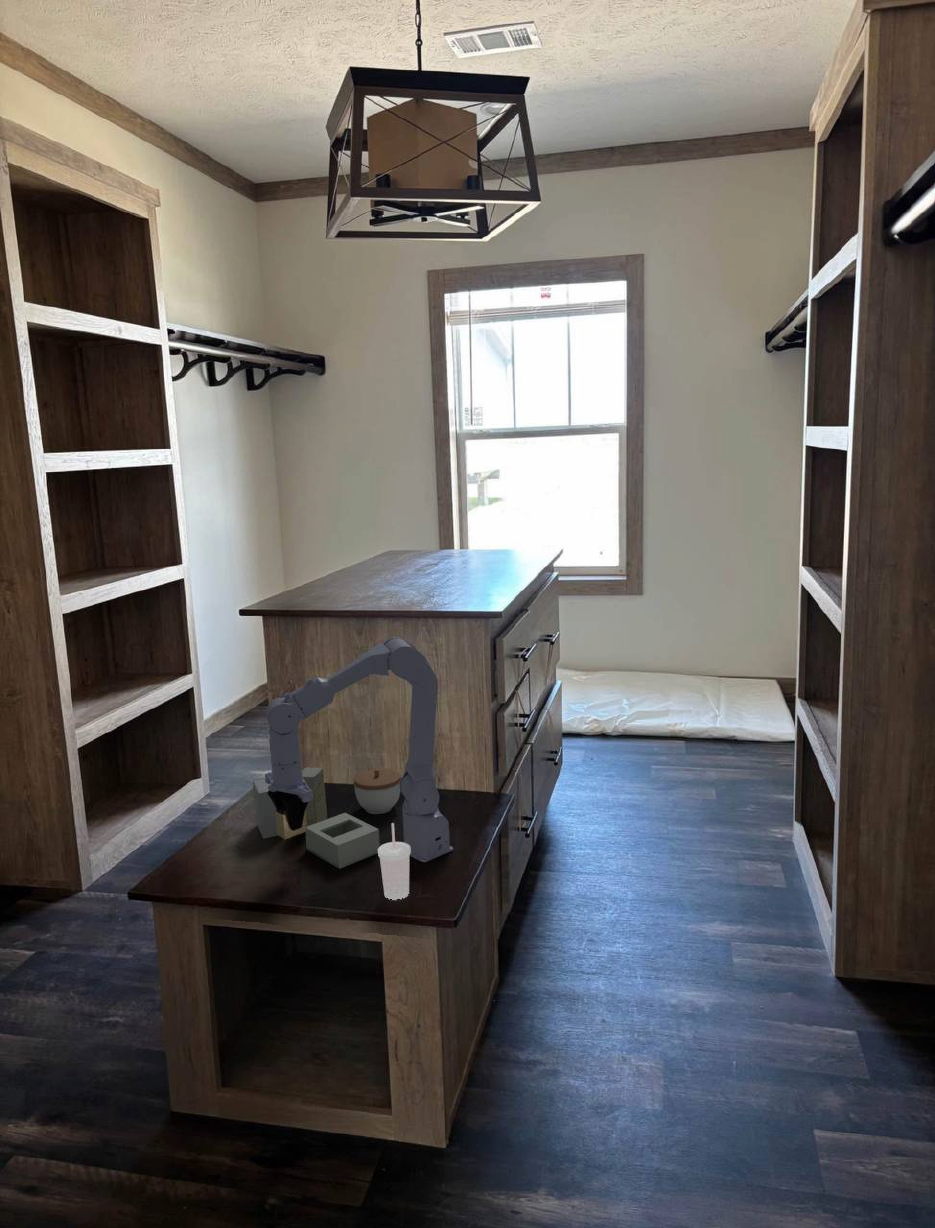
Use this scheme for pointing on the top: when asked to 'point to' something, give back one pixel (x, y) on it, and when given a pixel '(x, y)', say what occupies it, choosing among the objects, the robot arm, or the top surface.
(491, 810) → the top surface
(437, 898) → the top surface
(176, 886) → the top surface
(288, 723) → the robot arm
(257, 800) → the small box
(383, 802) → the lidded jar
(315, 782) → the skincare box
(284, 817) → the wooden rectangular block
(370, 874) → the top surface
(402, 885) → the beverage cup
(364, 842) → the slot box
